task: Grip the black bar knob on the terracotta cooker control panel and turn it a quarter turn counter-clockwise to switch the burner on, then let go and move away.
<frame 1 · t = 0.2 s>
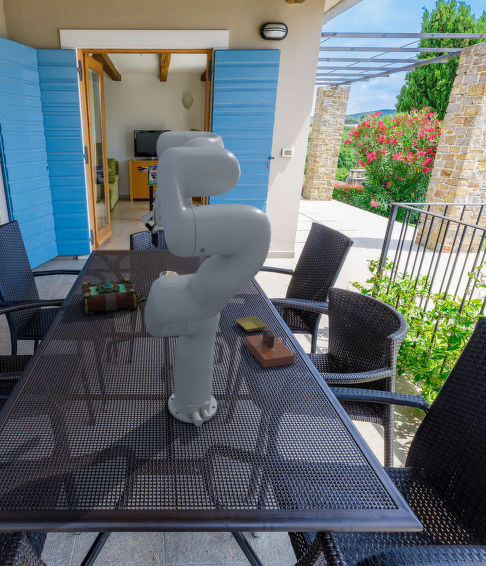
hand: (172, 245, 106), 37 cm above the table, tool pointing down, fingers open, 9 cm apart
saucer: (250, 327, 138), on the table
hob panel: (268, 353, 121), on the table
book: (115, 303, 158), on the table
hob knob: (268, 338, 120), point 5 cm above the table, hinge at 0.0°
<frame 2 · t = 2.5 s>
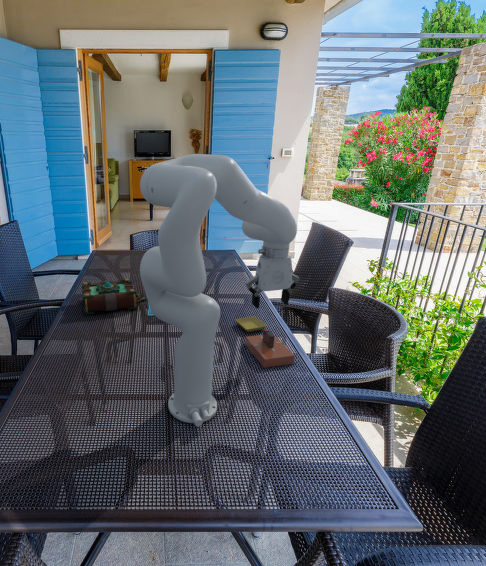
hand: (270, 304, 116), 17 cm above the table, tool pointing down, fingers open, 9 cm apart
nothing on the table moved.
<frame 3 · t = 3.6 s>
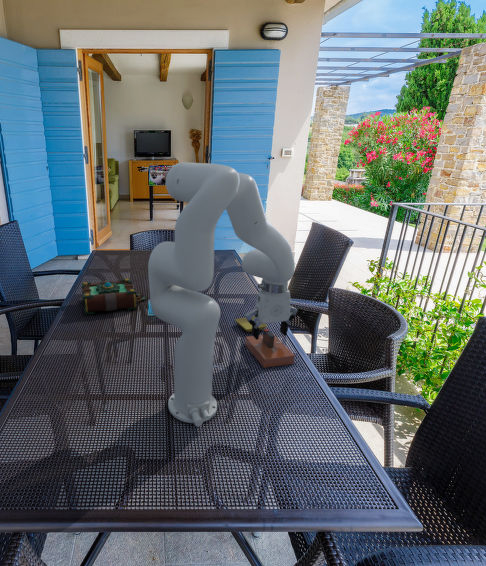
hand: (269, 335, 120), 6 cm above the table, tool pointing down, fingers open, 9 cm apart
nothing on the table moved.
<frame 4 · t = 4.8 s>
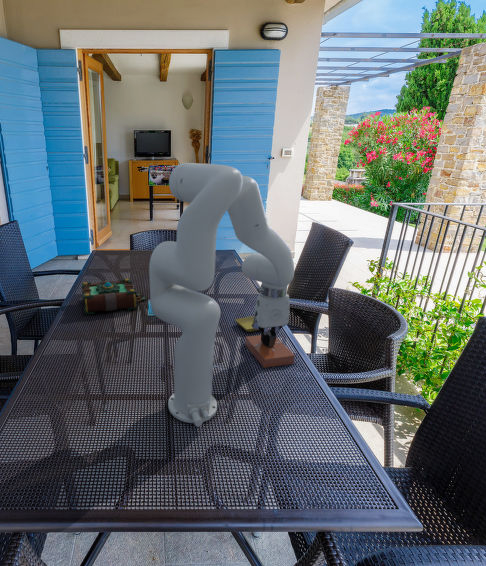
hand: (267, 342, 121), 3 cm above the table, tool pointing down, fingers closed on hob knob
hob knob: (268, 338, 120), point 5 cm above the table, hinge at 0.0°, touching gripper
everything else where it was.
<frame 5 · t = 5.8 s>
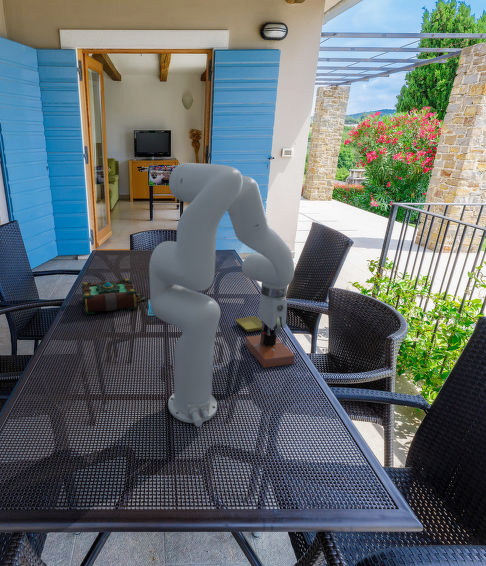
hand: (267, 342, 121), 3 cm above the table, tool pointing down, fingers closed on hob knob
hob knob: (268, 338, 120), point 5 cm above the table, hinge at 89.9°, touching gripper
everything else where it was.
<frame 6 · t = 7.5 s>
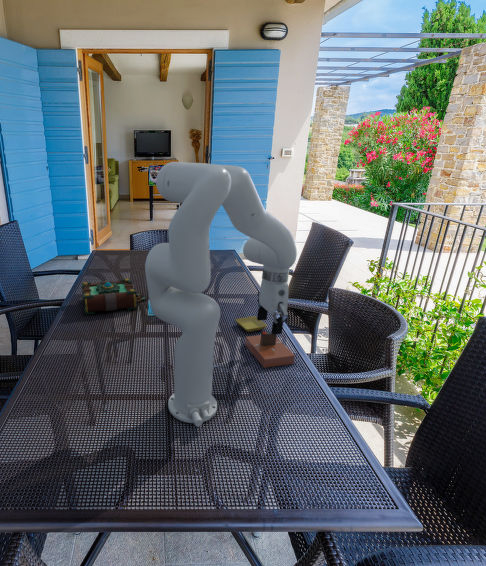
hand: (268, 326, 118), 10 cm above the table, tool pointing down, fingers open, 9 cm apart
hob knob: (268, 338, 120), point 5 cm above the table, hinge at 89.8°
everything else where it was.
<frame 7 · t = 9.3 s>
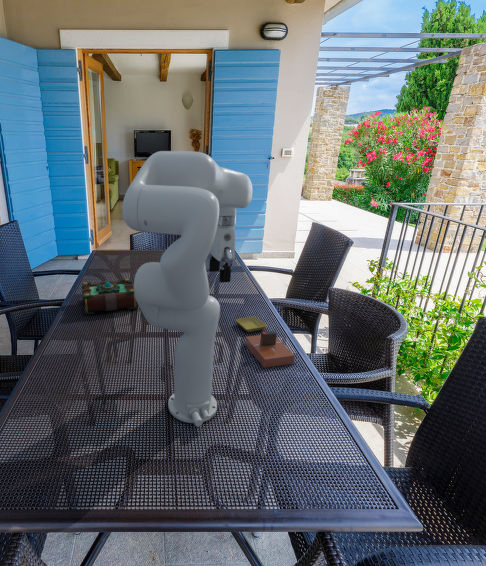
hand: (219, 276, 114), 26 cm above the table, tool pointing down, fingers open, 9 cm apart
nothing on the table moved.
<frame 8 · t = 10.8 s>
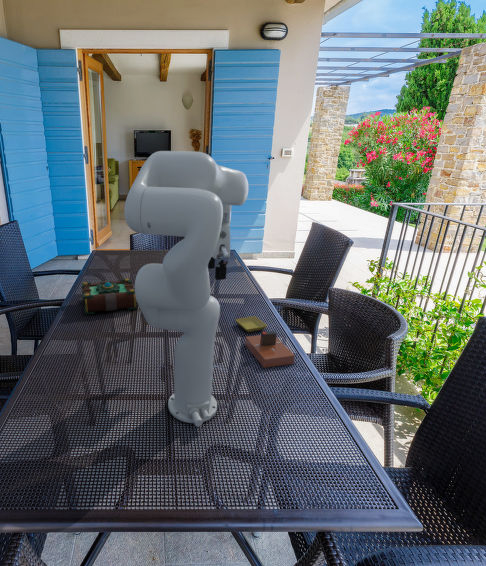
hand: (214, 273, 114), 26 cm above the table, tool pointing down, fingers open, 9 cm apart
nothing on the table moved.
at the end: hob knob at +90° (first picture: +0°) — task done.
